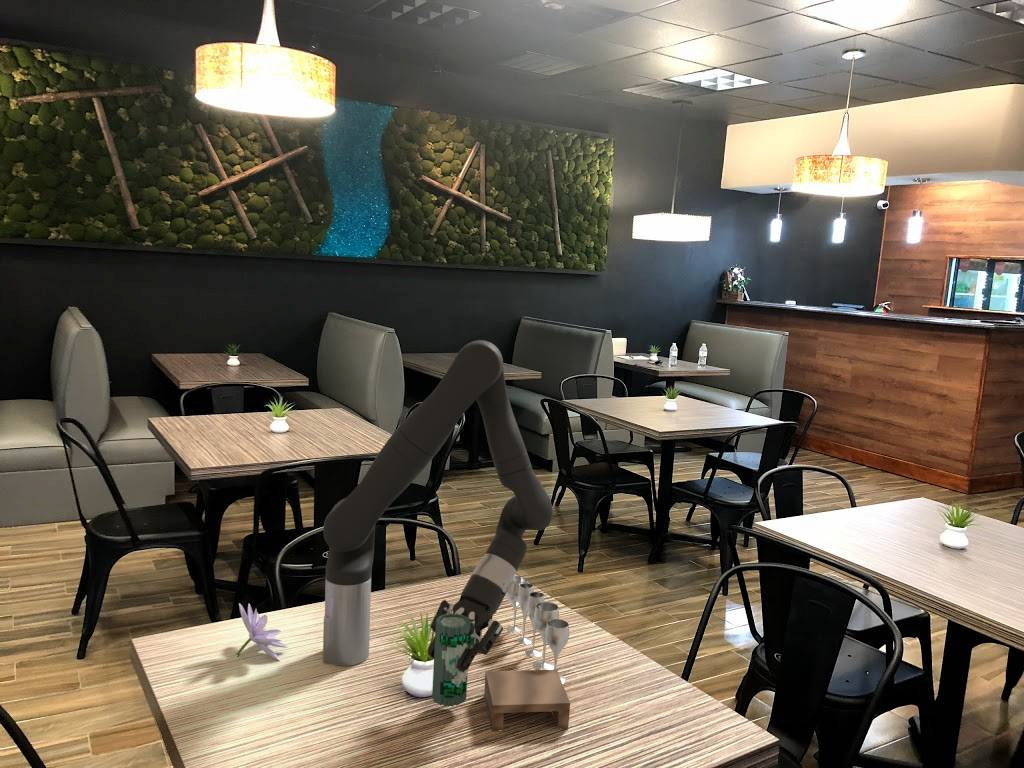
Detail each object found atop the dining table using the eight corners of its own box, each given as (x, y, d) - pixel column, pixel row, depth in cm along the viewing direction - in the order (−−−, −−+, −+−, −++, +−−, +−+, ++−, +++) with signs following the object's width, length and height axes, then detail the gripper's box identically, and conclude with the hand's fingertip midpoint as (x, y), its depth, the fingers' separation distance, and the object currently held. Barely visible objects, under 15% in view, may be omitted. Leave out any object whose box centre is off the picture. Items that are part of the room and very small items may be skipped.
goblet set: (572, 683, 161) (576, 620, 159) (545, 687, 159) (550, 624, 157) (521, 623, 187) (524, 569, 185) (498, 626, 185) (501, 571, 183)
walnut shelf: (491, 731, 143) (493, 705, 142) (484, 695, 155) (485, 671, 154) (568, 728, 145) (570, 702, 144) (555, 693, 157) (556, 669, 156)
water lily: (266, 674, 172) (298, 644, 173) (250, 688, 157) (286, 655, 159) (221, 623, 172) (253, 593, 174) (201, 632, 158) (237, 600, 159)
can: (448, 710, 144) (452, 631, 142) (425, 696, 148) (429, 619, 146) (472, 697, 149) (476, 621, 147) (449, 685, 153) (453, 610, 151)
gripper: (452, 563, 155) (407, 641, 148) (511, 585, 147) (467, 669, 139) (468, 582, 160) (425, 658, 153) (526, 603, 152) (484, 685, 144)
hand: (445, 663), depth 146 cm, fingers closed on can, 6 cm apart
